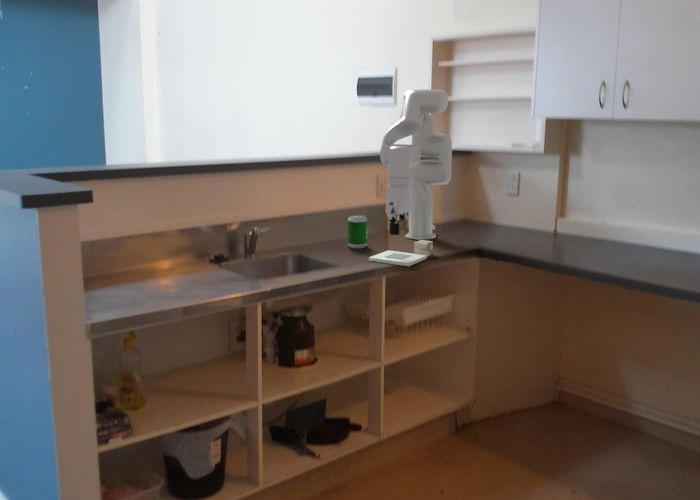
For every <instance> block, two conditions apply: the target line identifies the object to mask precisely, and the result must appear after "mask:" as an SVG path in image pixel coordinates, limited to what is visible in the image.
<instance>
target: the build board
mask: <svg viewBox="0 0 700 500" xmlns="http://www.w3.org/2000/svg"><path fill="white" fill-rule="evenodd" d="M427 259H428V257H427V255H420V254H414V253H410V252H403V251H396V250H385V251H383V252H380V253H377V254H374V255H371V256H369V257H368V261H369V262H374V261H375V263H381V262H382V264H390V265H397V266H403V267H404V266H405V267H411V266H413V265H415V264H418V263H420V262H423V261H425V260H427Z"/></svg>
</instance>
